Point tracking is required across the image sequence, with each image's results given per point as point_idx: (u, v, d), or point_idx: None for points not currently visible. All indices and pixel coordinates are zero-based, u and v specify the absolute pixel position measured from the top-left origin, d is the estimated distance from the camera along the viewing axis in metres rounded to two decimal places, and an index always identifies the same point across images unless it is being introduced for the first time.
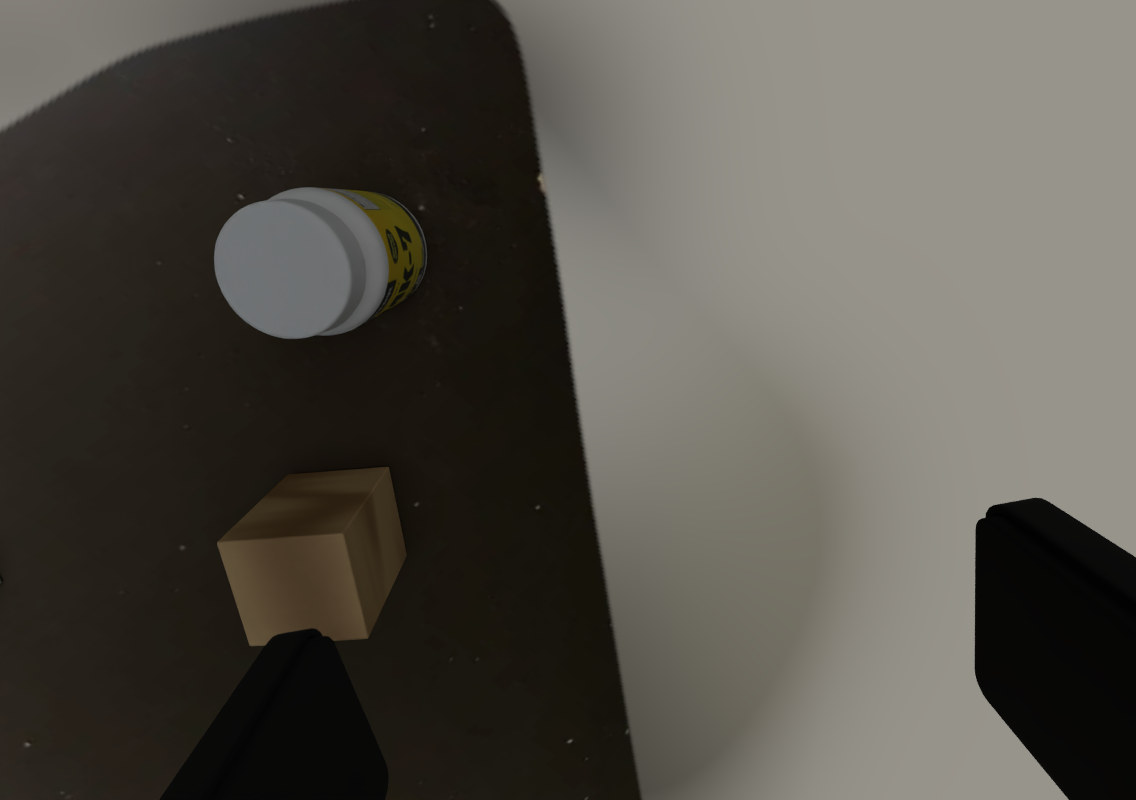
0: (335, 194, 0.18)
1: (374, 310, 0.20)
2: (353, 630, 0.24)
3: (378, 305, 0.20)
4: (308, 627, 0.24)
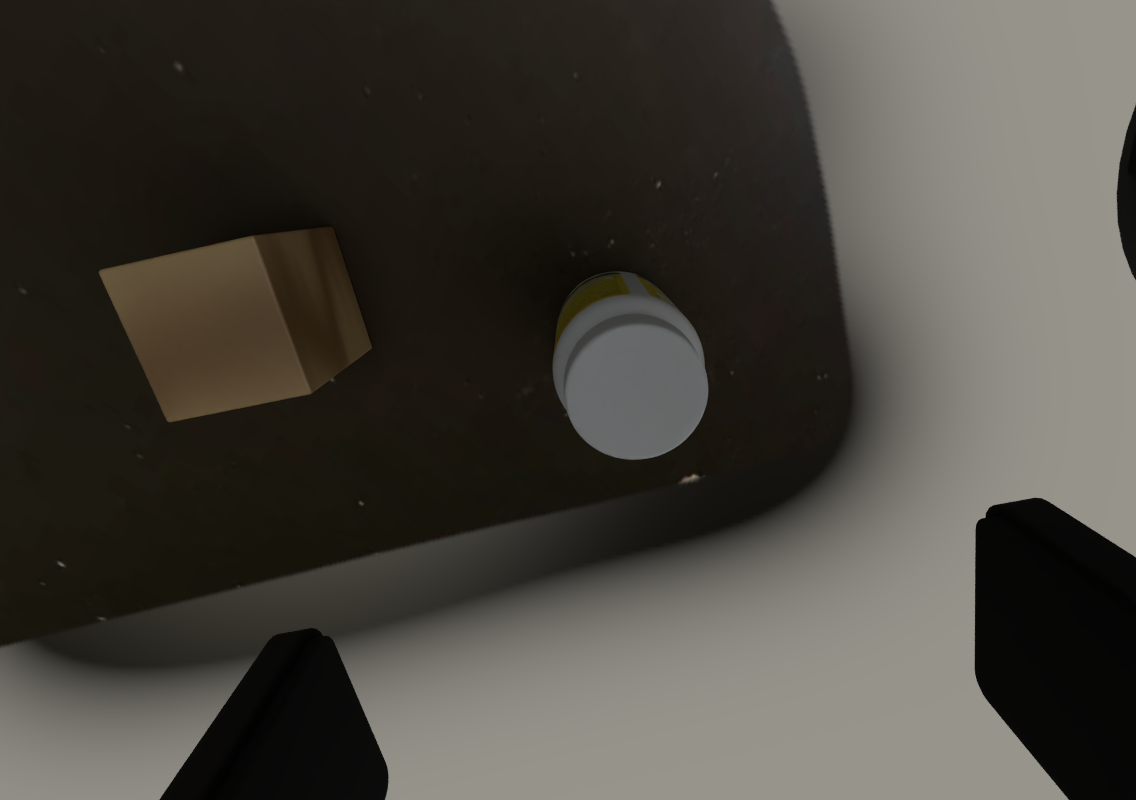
0: None
1: None
2: (174, 406, 0.19)
3: None
4: (158, 351, 0.18)
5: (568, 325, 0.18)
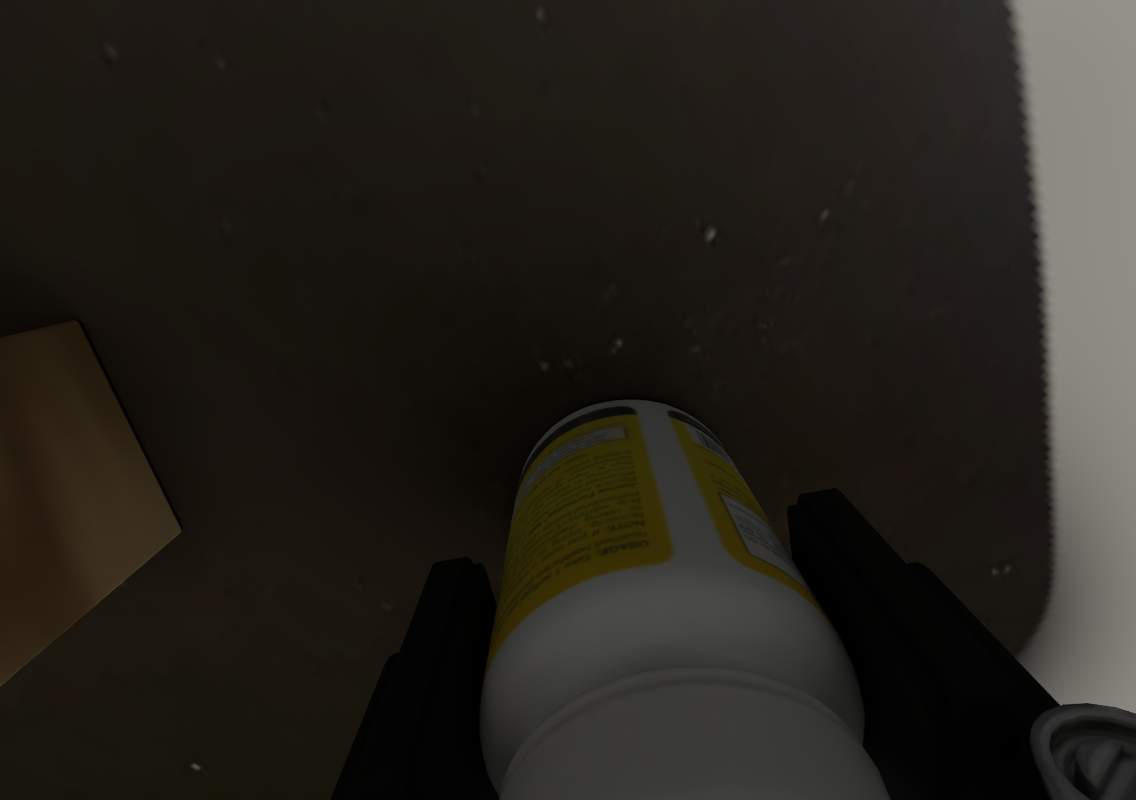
0: None
1: None
2: None
3: None
4: None
5: (513, 637, 0.07)
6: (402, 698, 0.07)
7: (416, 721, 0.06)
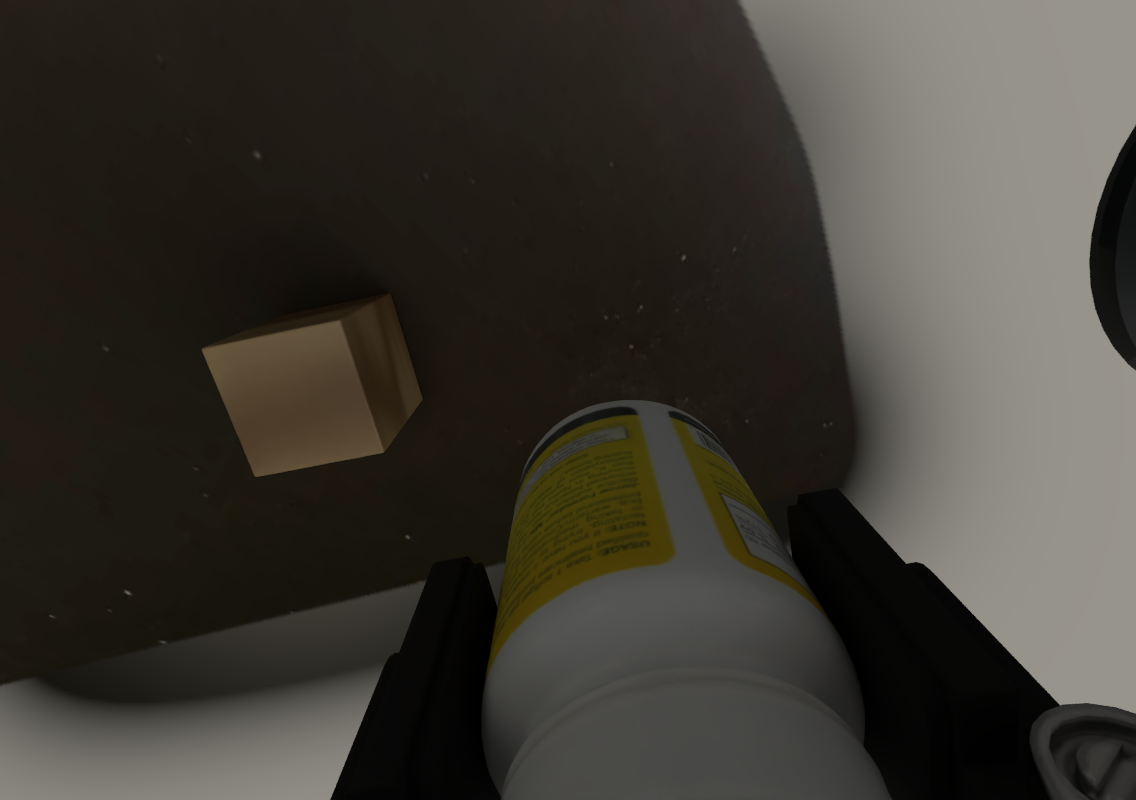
0: None
1: None
2: (261, 463, 0.21)
3: None
4: (251, 416, 0.21)
5: (515, 637, 0.07)
6: (402, 698, 0.07)
7: (415, 721, 0.06)
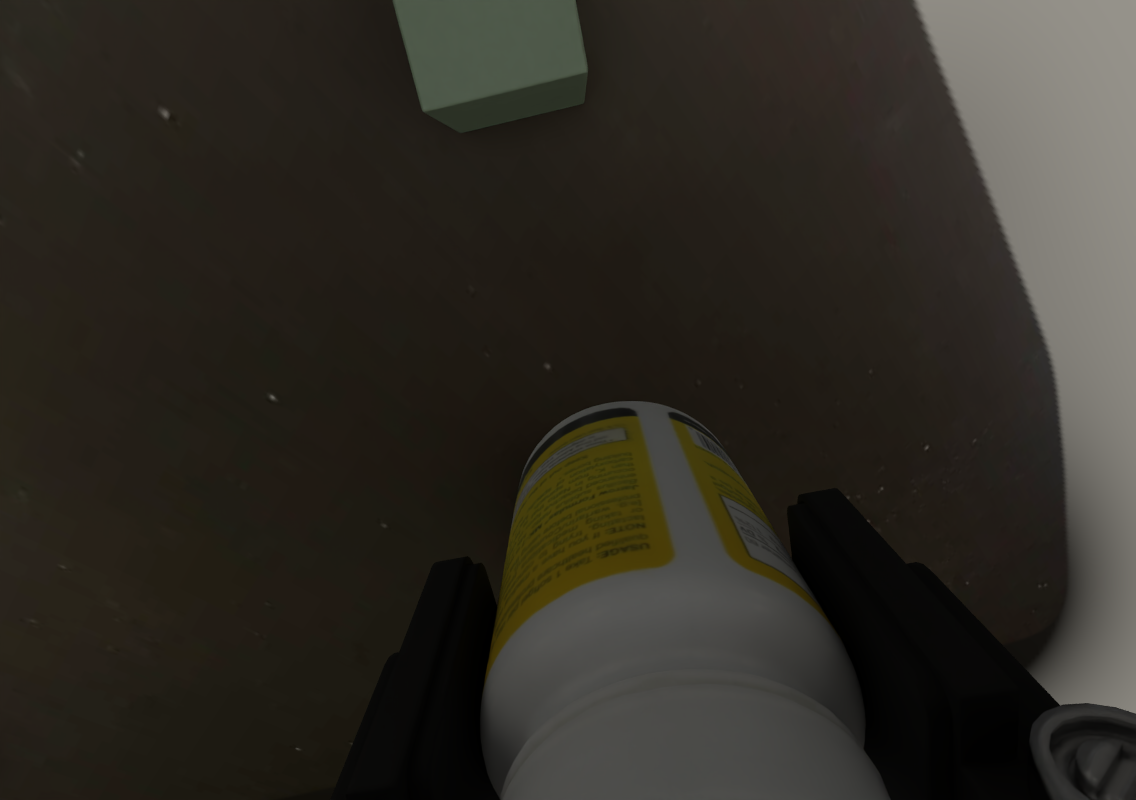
0: None
1: None
2: None
3: None
4: None
5: (514, 640, 0.07)
6: (402, 698, 0.07)
7: (414, 721, 0.06)
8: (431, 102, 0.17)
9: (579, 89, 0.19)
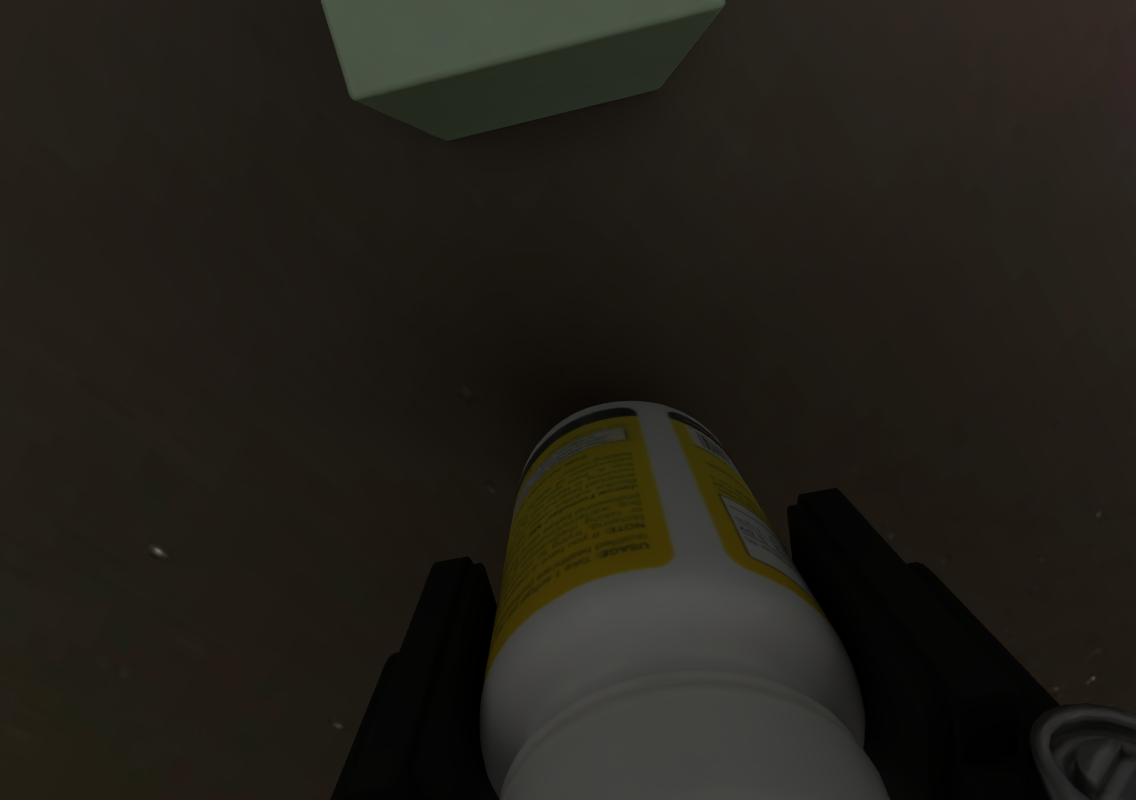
0: None
1: None
2: None
3: None
4: None
5: (513, 639, 0.07)
6: (402, 698, 0.07)
7: (415, 721, 0.06)
8: (369, 77, 0.08)
9: (675, 56, 0.10)
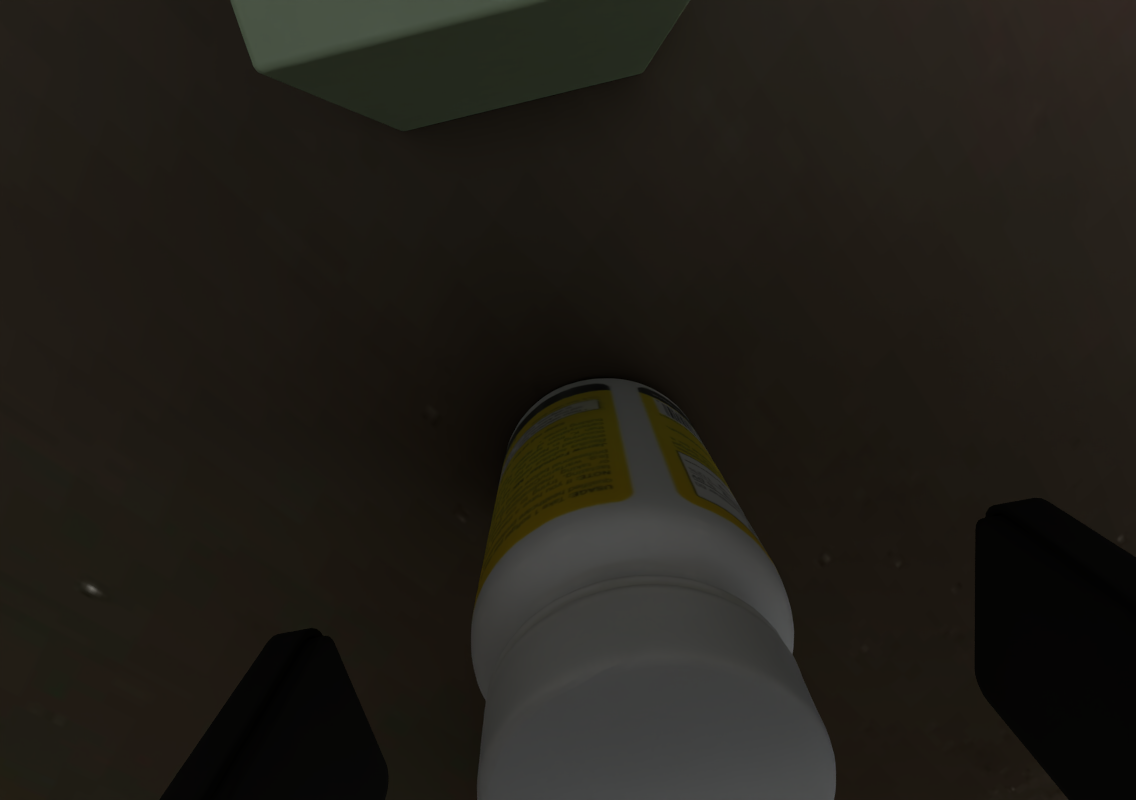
0: None
1: None
2: None
3: None
4: None
5: (499, 565, 0.08)
6: None
7: None
8: (277, 44, 0.06)
9: (659, 29, 0.08)
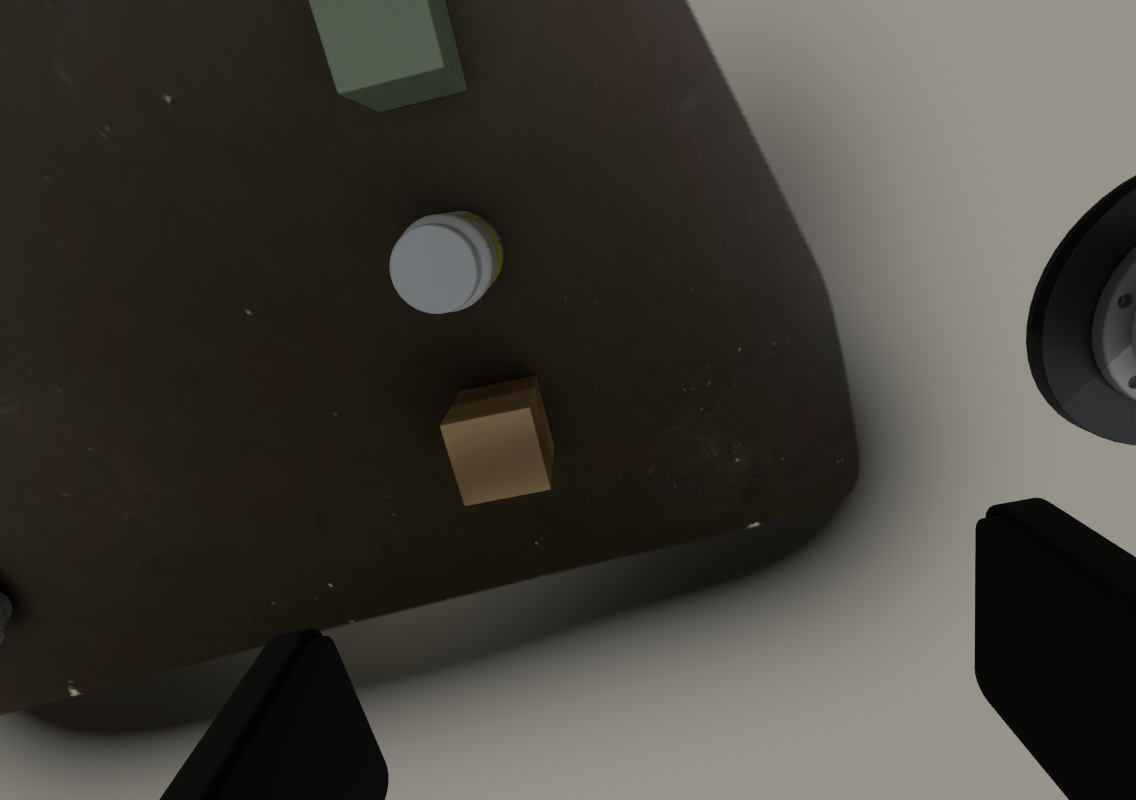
0: (490, 277, 0.29)
1: None
2: (470, 497, 0.33)
3: None
4: (466, 467, 0.32)
5: (402, 234, 0.28)
6: None
7: None
8: (343, 87, 0.26)
9: (450, 79, 0.28)
